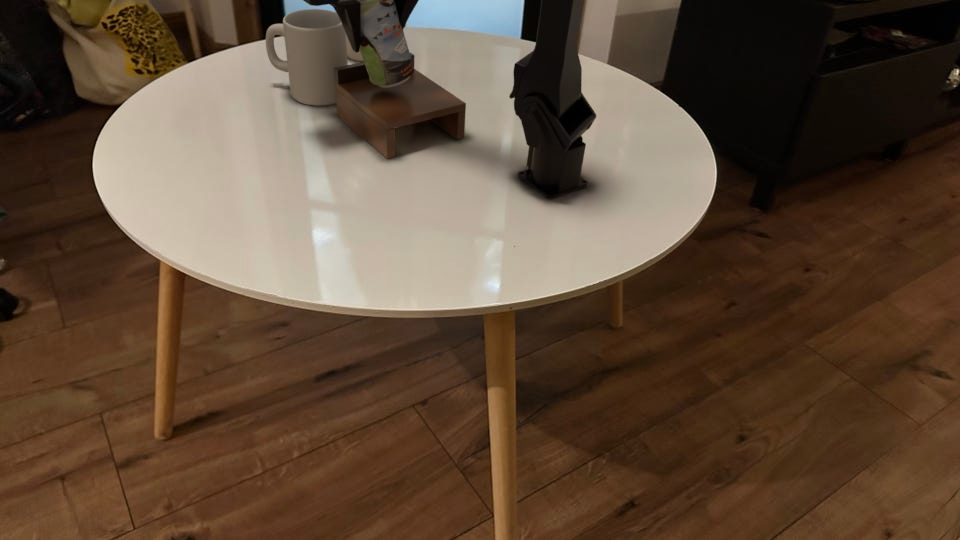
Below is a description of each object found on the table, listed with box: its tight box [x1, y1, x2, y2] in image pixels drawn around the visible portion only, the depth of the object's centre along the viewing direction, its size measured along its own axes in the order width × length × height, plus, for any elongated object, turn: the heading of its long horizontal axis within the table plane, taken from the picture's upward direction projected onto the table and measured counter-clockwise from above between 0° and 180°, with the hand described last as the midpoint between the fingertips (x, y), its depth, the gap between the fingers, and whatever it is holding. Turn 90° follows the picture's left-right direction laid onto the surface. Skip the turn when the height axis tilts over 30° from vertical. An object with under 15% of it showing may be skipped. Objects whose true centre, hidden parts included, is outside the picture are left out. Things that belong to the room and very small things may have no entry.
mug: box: [265, 8, 349, 106], centre depth 99 cm, size 12×8×11 cm
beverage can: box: [357, 0, 415, 88], centre depth 89 cm, size 6×7×12 cm
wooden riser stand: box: [334, 52, 467, 159], centre depth 94 cm, size 14×12×7 cm
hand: (374, 47), depth 89 cm, fingers closed on beverage can, 5 cm apart
